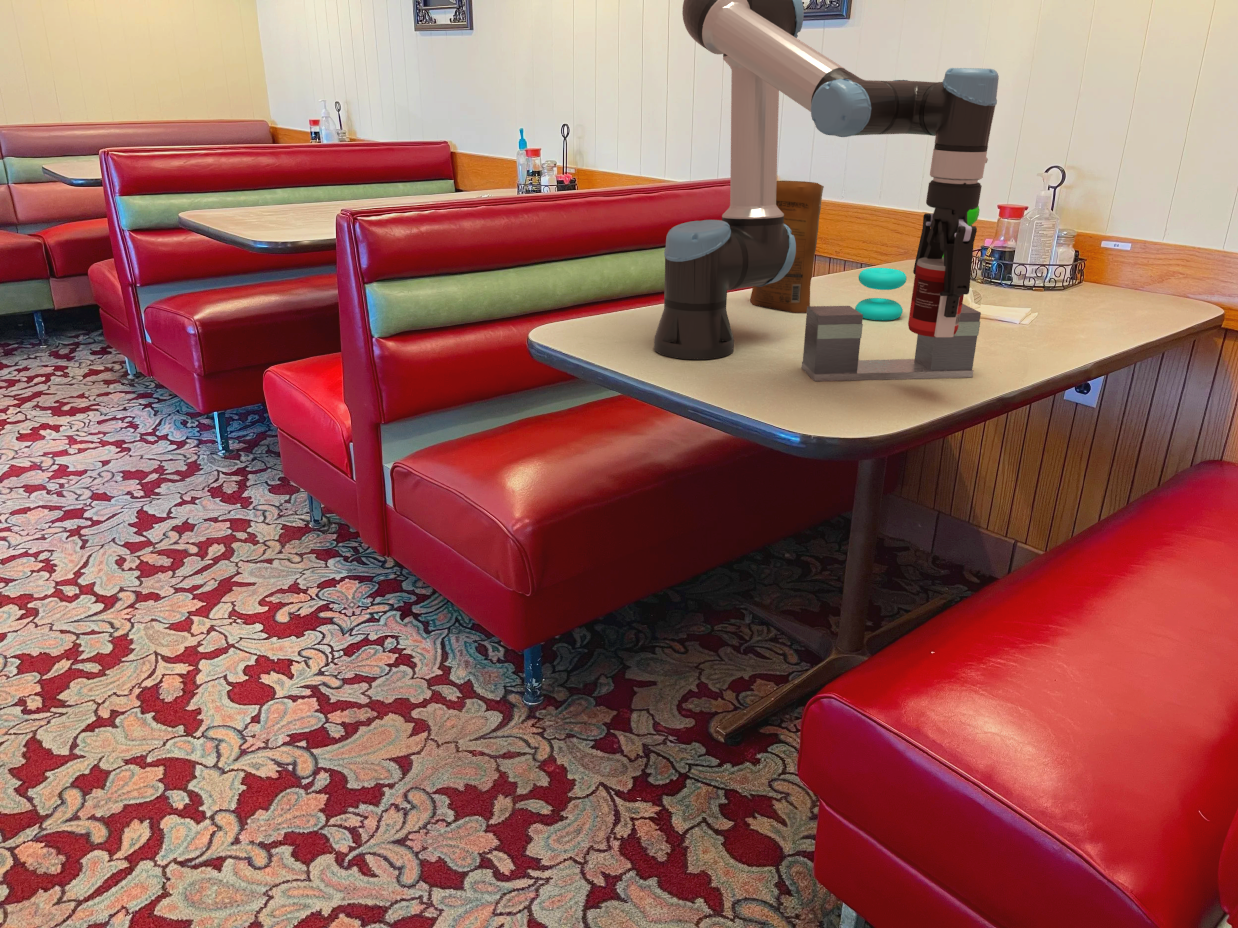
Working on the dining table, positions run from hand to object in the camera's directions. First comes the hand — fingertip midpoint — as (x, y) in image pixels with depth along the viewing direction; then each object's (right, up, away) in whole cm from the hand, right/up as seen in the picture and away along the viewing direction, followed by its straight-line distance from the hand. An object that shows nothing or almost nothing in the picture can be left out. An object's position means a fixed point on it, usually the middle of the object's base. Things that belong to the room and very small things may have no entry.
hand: (932, 329), depth 147 cm
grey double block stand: (-3, -5, +15) cm, 17 cm away
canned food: (0, -1, 0) cm, 1 cm away
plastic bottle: (+38, +28, +98) cm, 109 cm away
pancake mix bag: (-14, +14, +63) cm, 66 cm away
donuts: (+7, +11, +56) cm, 57 cm away
